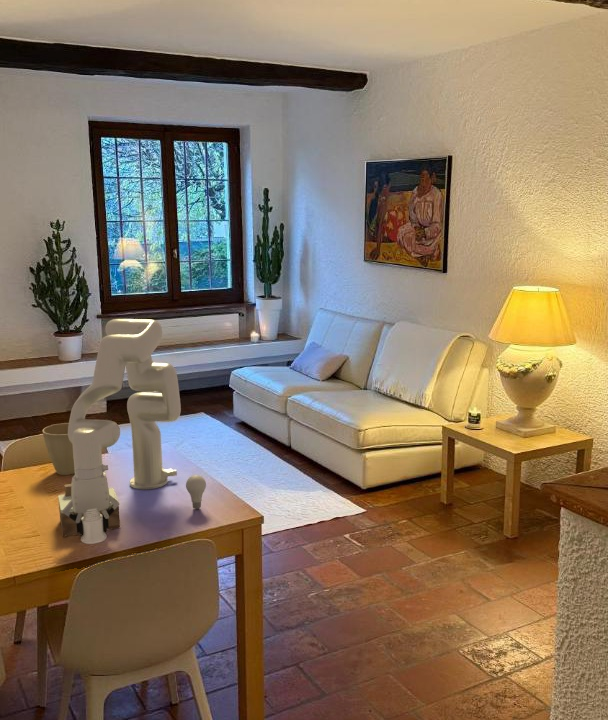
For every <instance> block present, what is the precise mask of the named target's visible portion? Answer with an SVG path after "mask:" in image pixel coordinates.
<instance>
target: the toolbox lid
mask: <svg viewBox="0 0 608 720" xmlns="http://www.w3.org/2000/svg"><path fill="white" fill-rule="evenodd" d="M71 484H72V483H67V484H64V494H58V495H57V496H58V497H57V498H58V505H59V504H60V510H61V513H63V509H64V508H65V507H66V506H67V504H68V503H69V502H70V501H71ZM108 488H109V495H111V496H112V497H113V498H114V499H116V500H117V501H118V502H119V499H118V496H117V494H116V492H115V489H114V487H108ZM110 506H112V503H111V502H110ZM70 511H71V512H74V511H73V508H71V509H70Z"/></svg>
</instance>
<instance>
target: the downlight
mask: <svg viewBox="0 0 608 720" xmlns="http://www.w3.org/2000/svg"><path fill="white" fill-rule="evenodd" d="M96 509H97V508H96ZM96 509H90V510H87V511H89V512H86V513H83V517H82V518H81V521H82V528H83V536H80V541H81V543H83V544H86V545H93V544H94V545H95V544H99V543H102V542H104V541H105V540H106V539H107V537H108V536H107V534H106V532H104V528H103V515H102V514H100V511H97V510H96ZM93 510H95V511H93Z"/></svg>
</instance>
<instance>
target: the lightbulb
mask: <svg viewBox="0 0 608 720" xmlns="http://www.w3.org/2000/svg"><path fill="white" fill-rule="evenodd" d="M185 482H186V483H185V488H186V490H187V492H188V493H189V496H190V499H191V502H192V508H193V509H194V510H199V509H200V508H201V506H202V501H203V495H204V493H205V489H206V487H207V483H206V480H205V478H204V477H203V476H201V475H199V474H193V475H191V476H189V477H188V479H187V480H186V481H185Z"/></svg>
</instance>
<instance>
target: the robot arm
mask: <svg viewBox="0 0 608 720" xmlns="http://www.w3.org/2000/svg"><path fill="white" fill-rule="evenodd" d="M104 330H105V334H106V335H105V336H103V337H102V338H101V340H100V341H99V345H98V350H97V355H96V360H95V365H94V372H93V378H92V382H91V384H90V385H89V386H88V387H87V388H86V389H84V391H82V392H81V394H80V395H79V396H78V398H77V399H76V400H75V402H74V404H73V406H72V407H71V411H70V416H69V421H68V423H69V426H68V437H69V440H70V442H71V443H73V455H74V470H75V473H74V475H73V476H72V477H71V483H70V484H71V501H70V502H69V503H68V504H67V506H66V507H65V508H64V509H63V513H64V514H65V515H67V516H69V517H70V518H71V519H72V520H74V521H75V522H76V525H77V533H79V532H80V534H79V536H80V537H82V536H83V528H82V521H81V517H82V514H83V513H86V512H89V511H87V510H90V509H96V508H97V509H96V510H97V511H100V510H101V511H102V513H103V528H104V533H107V532H108V530H106V528H109V525H108V518H109V516H110V515H111V514H112V513H113V512H114V510H115V509H116V508H117V507H118V506H119V507H120V502H119V500H118V501H117V500H116V499H114V498H113V497H112V496H111V495H109V488H110V487H109V484H108V477H107V474H106V473H105V471H108V470H109V465H108V464H107V465H106V464H105V465H104V464H103V452H102V450H103V449H106V448H107V449H108V448H110V447H113V446H114V445H115V444H116V443H117V442H118V441H119V439H120V436H121V427H120V426H119V424H117V422H115V421H112V420H108V419H90V418H89V419H87V418H86V416H87V412H88V410H89V409H90V408H91V407H92V406H93V405H94V404H95V403H97V402H98V401H100V400H102V399H104V398H107V397H109V396H112V395H115V394H116V393H118V392H119V391H121V390H122V388H123V382H124V376H125V371H126V378H127V382H128V387H130V389H131V390H132V391H136V392H135V393H133V394H131V395H130V396H129V397H128V399H127V403H126V409H127V413H128V418H129V423H130V428H131V442H132V443H131V444H132V461H133V463H132V464H133V476H134V477H132V478H131V479H130V480H129V486H130V487H131V488H133V489H137V490H145V491H146V490H154V489H159V488H161V487H163V486H165V485H167V484H168V482H169V479H168V477H175V476H178V472H177V469H172V468H168V469H165V468H164V467H163V450H162V433H161V430H160V428H159V426H158V424H157V423H158V422H159V423H160V422H161V423H163V422H164V423H165V422H166V423H170V422H176V421H177V420H178V419H179V418H180V415H181V411H182V410H181V409H182V408H181V407H182V405H181V398H180V387H179V386H180V385H179V381H178V380H179V378H178V374H177V373H178V372H177V370H176V368H175V367H174V366H173V364H170V363H167V362H154V361H153V358H152V354H153V353H154V351H155V350H156V348H157V347H158V346H159V345H160V343H161V340H162V337H163V336H162V335H163V330H162V326H161V324H160V323H159V322H158V321H157V320H155V319H146V318H145V319H142V318H141V319H140V318H139V319H138V318H135V319H134V318H113V319H110V320H108V321H107V322H106V324H105V329H104ZM110 502H111V503H112V506H110ZM71 508H73V511H74V513H76V514H74V513H73V512H71V511H70V509H71ZM106 509H107V510H106ZM93 511H95V510H93Z"/></svg>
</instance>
